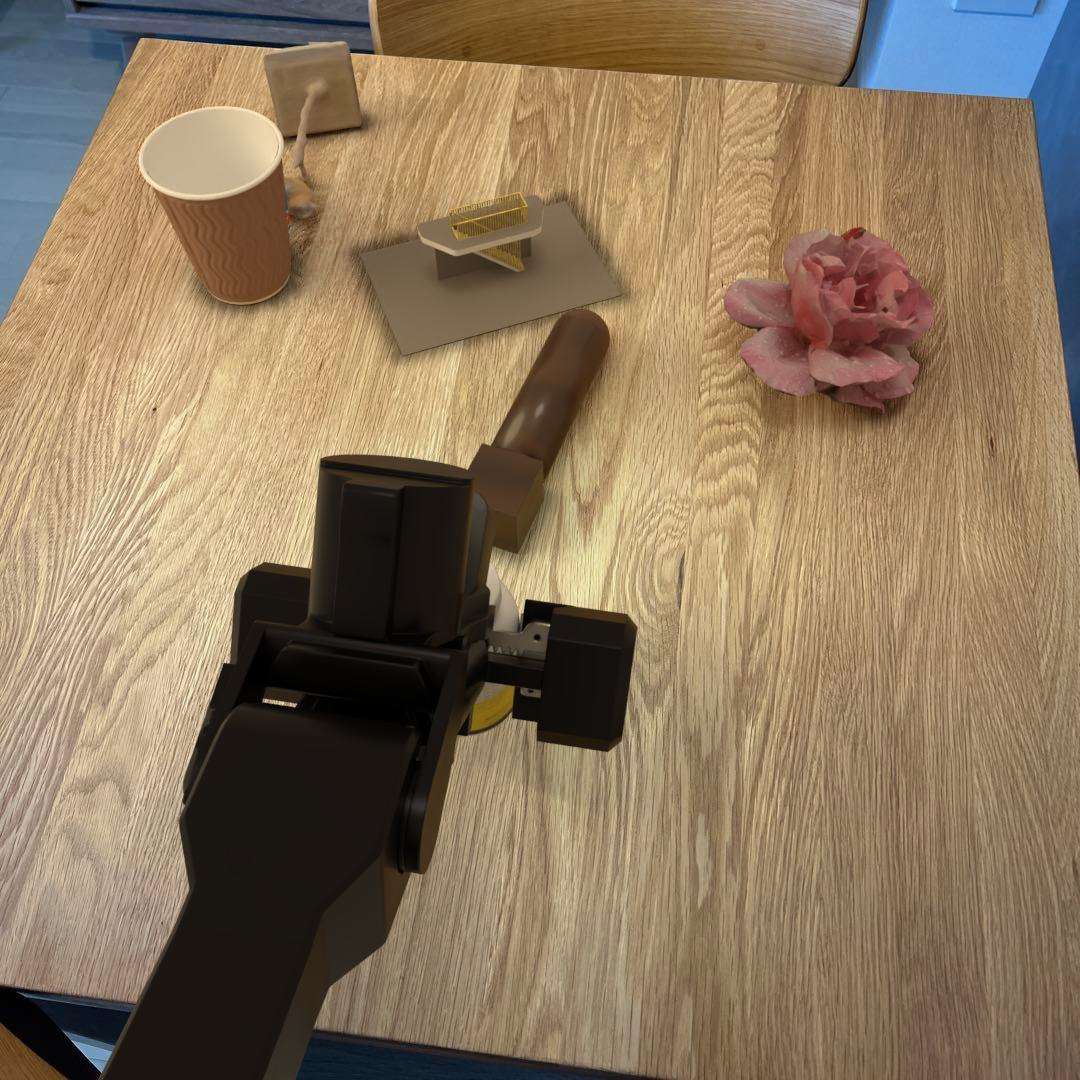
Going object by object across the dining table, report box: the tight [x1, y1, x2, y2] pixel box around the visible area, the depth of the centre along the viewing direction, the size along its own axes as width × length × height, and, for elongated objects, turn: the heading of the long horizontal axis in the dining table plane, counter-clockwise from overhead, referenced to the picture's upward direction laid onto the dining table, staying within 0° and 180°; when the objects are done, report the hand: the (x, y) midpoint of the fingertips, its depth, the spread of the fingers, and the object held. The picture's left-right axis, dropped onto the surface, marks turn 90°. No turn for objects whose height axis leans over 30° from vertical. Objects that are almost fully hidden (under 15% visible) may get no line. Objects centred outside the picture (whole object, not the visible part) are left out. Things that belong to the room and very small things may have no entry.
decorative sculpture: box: [263, 41, 363, 220], centre depth 96 cm, size 16×10×7 cm, turn 170°
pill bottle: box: [457, 560, 520, 738], centre depth 62 cm, size 6×6×12 cm
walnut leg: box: [467, 308, 611, 555], centre depth 80 cm, size 20×4×4 cm, turn 159°
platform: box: [359, 191, 622, 356], centre depth 89 cm, size 12×18×7 cm, turn 111°
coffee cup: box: [138, 105, 292, 306], centre depth 86 cm, size 10×10×12 cm
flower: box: [723, 226, 937, 415], centre depth 82 cm, size 15×15×10 cm
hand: (465, 612), depth 62 cm, fingers closed on pill bottle, 6 cm apart
